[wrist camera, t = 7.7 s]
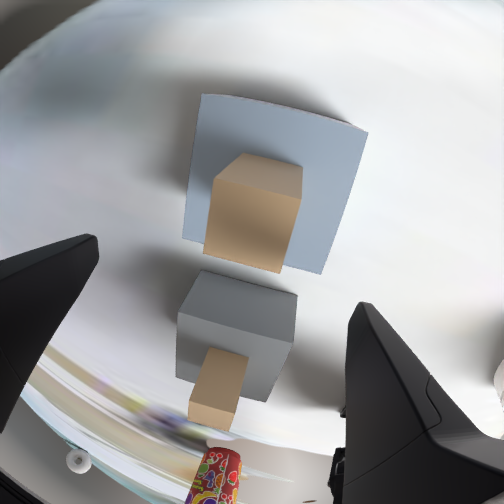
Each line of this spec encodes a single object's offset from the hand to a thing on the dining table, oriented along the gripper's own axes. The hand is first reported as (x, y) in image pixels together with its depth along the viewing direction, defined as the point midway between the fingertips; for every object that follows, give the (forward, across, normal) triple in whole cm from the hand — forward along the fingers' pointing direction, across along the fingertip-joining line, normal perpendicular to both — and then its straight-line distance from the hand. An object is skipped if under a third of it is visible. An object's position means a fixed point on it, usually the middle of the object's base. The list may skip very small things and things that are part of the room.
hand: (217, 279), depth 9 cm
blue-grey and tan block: (+12, -1, -1) cm, 13 cm away
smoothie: (+12, -3, +47) cm, 49 cm away
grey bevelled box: (+12, 0, +13) cm, 18 cm away
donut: (+12, +42, +98) cm, 108 cm away
